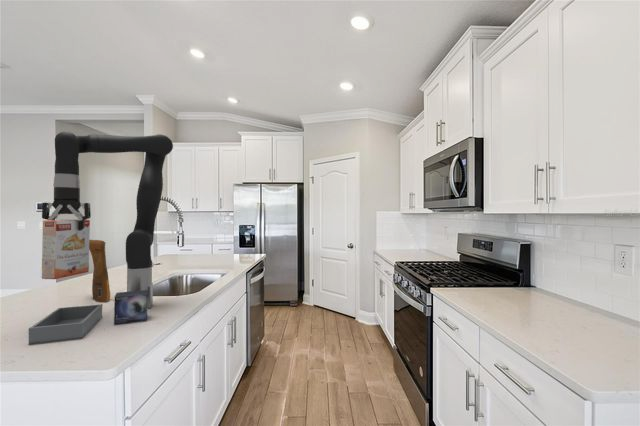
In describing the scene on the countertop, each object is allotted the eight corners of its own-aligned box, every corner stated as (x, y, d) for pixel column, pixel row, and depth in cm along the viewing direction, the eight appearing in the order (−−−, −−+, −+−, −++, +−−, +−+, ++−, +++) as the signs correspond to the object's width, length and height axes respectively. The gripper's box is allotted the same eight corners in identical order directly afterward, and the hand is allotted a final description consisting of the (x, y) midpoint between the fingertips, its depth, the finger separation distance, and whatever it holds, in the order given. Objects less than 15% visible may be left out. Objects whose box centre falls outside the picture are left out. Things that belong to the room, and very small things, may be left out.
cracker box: (56, 280, 107) (56, 220, 107) (40, 279, 108) (40, 220, 108) (90, 272, 121) (90, 219, 121) (76, 271, 122) (76, 219, 122)
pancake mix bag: (96, 305, 135) (96, 241, 135) (85, 296, 147) (86, 238, 148) (113, 301, 140) (114, 240, 140) (102, 294, 153) (103, 237, 153)
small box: (113, 325, 111) (113, 296, 111) (115, 320, 116) (115, 292, 116) (146, 321, 116) (147, 293, 116) (147, 315, 121) (147, 289, 121)
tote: (102, 317, 119) (102, 304, 119) (82, 338, 99) (82, 323, 99) (58, 321, 114) (58, 308, 114) (28, 344, 94) (28, 328, 94)
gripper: (93, 188, 120) (93, 229, 120) (48, 187, 115) (47, 230, 115) (86, 186, 113) (86, 230, 113) (37, 185, 108) (37, 231, 108)
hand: (67, 230), depth 114 cm, fingers closed on cracker box, 8 cm apart
